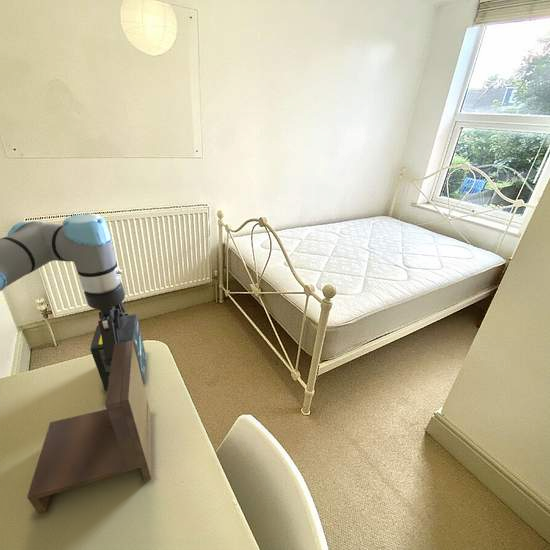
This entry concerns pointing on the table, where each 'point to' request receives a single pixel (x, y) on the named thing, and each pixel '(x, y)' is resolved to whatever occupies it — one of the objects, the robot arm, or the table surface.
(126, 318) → the tampon box
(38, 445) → the table surface
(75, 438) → the wooden display stand
